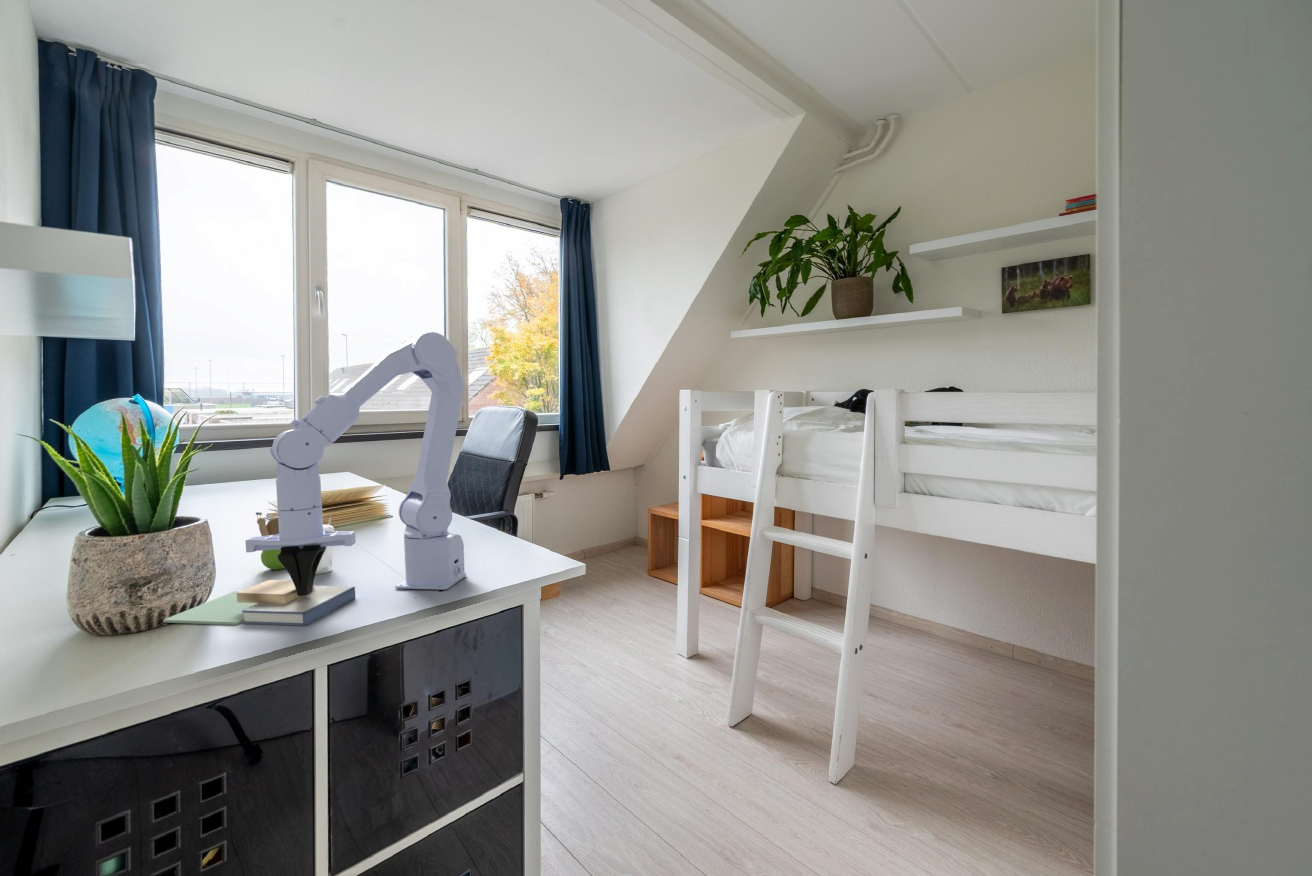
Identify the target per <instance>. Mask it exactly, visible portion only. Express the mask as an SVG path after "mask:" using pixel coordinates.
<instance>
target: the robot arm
mask: <svg viewBox="0 0 1312 876" xmlns="http://www.w3.org/2000/svg"><path fill="white" fill-rule="evenodd" d="M457 356H458V350H457V349H456V348H455V347H454V345H452V344H451V341H449V340H448V339H447V338H446V337H445V336H444V335H442V334H441V333H438V332H434V331H430V332H429V331H428V332H425V333H422V334H421V335H417V336H410V337H407V338H406V339H404V340H402V342H401V343H399V345H396V346H394V347H393V348H391V349H390V350H388V351H387V352H386V353H385V354H383V355H381V357H380V358H379V359H378V360H377V361H375V363H374V364H373V365H371V367H369V368H368V369H367V370H366V371H365V372H364V373H363V374H361V376H360V377H359V378H358V379H356V381H354V383H352V384H351V385H350V386H349V387H348V388H347V389H346V390H345V391H344V392H343V393H335V392H334V393H333V392H331V393H329V394H327V395H326V396H324V395H320V396H318V397H317V398H316V399H315V400H314V402H313V403H315V406H313V407H312V408H311V409H309V410H308V411H307V412H306V413H305V414H304V415H303V416H301V417H300V418H299V419H298V420H297V419H293V420H292V421H291V422H290V423H289V425H290V426H291V427H292V428H293V429H289V430H285V431H283V432H281V433H279V434H277V436H276V437H275V438H274V440H273V441H272V442H273V443H272V445H271V448H270V454H271V456H272V458H273V459H274V460H275V461H276V467H275V474H276V479H275V485H276V503H277V504H276V505H277V516H278V523H279V534H278V535H269V536H262V535H260V536H252V537H249V538H247V539H245V542H244V543H245V552H246V553H254V552H258V551H259V552H260V551H261V552H262V551H263V550H277V549H281V552H280V554H279V555H278V560H279V561H280V562H281V563H282V565H283V566H284V567H285V568H284V569H285V570H286V572H287V574H288V575H289V577H290V578H291V581H293V583H294V586H295V588H296V591H297V595H298V596H304V595H308V594H309V593H311V592H312V589H313V583H314V584H315V578H316V575H317V574H316V571H317V568H318V565H319V563H320V560H321V558H322V556H323V554H324V552H325V550H326V546H333V547H338V546H344V547H352V546H353V545H355V544H356V542H357V541H356V531H355V530H353V531H345V530H343V531H342V530H341V531H338V530H337V531H336V530H334V531H323V525H324V519H323V503H322V502H323V501H322V486H321V485H322V484H321V476H320V471H319V470H320V468H319V467H320V466H319V462H320V461H321V460H322V458H323V457H324V453H325V448H327V447H330V446H331V445H332V444H333V443H334V442H336V441H337V439H339V438H340V437H341V436H342V435H343V434H344V433H345V432H346V431H347V430H348V429H350V428H351V427H352V426H353V425H354V424H355V423H356V422H358V420H359V419H360V410H361V409H360V407H361V406H362V405H364V404H365V403H366V402H368V401H369V400H370V399H372V397H373V396H374V395H376V394H377V393H378V392H380V391H381V390H382V389H383V388H384V387H386V386H387V385H388V384H389V383H391V381H393V380H394V379H395V378H396V377H398V376H401V375H405V374H409V373H412V374H414V375H416V376H417V377H419V378H420V379H421V380H422V382H424V384H425V385H426V387H428V389H429V390H430V391H431V396H430V401H429V406H428V410H427V416H426V421H425V422H426V423H425V428H424V433H423V437H422V442H421V447H420V453H419V457H418V463H417V469H416V474H415V478H414V479H413V480H412V482H411V483H410V485H409V486H408V491H407V494H406V496H405V497H404V499H403V500H402V501H401V502H400V505H399V508H398V516H399V519H400V520H401V522H402V524H404V525H405V529H404V532H403V544H404V546H403V547H404V549H403V550H404V568H405V571H404V572H405V579H404V580H402V581H401V582H399V583H397V584H396V585H395V586H394V587H395V589H402V590H405V589H406V590H407V589H408V590H409V589H410V590H411V589H412V590H443V591H444V590H448V589H450V588H451V587H453V585H455V584H457V582H459V581H461V580H462V579H463V578H465V577H466V576H467V572H466V571H465V553H464V552H465V550H464V540H463V537H462V536H461V535H460V534H457V533H451V532H449V531H448V530H449V529H448V528H449V526H450V525H451V523H452V519H453V511H452V508H451V497H452V495H451V491H450V488H449V485H448V477H449V471H450V465H451V461H452V455H453V450H454V444H455V439H456V435H457V434H456V433H457V429H458V423H459V417H460V413H461V407H462V403H463V398H464V397H463V396H464V393H465V392H464V391H465V383H464V379H463V375H462V373H461V370H460V367H459V364H458V359H457V358H458V357H457Z"/></svg>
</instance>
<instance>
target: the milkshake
mask: <svg viewBox="0 0 1312 876" xmlns="http://www.w3.org/2000/svg"><path fill="white" fill-rule="evenodd" d="M332 517H333V516H329V517H328V521H327V522H328V523H327V524H323V531H335V528H334V526H333V525H331V523H332ZM333 549H334V546H326V550H325V552H324V554H323V556H322V558H321V560H320V563H319V565H318V568H317V571H316V574H315V575H323V574H326V573H330V572H332V571H333Z"/></svg>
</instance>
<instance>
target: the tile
mask: <svg viewBox="0 0 1312 876" xmlns="http://www.w3.org/2000/svg"><path fill="white" fill-rule="evenodd" d="M314 586H315V582H314V583H313V589H312V591H314ZM237 592H238V593H237V602H239V603H270V604H286V603H288V602H290V601H293V600H295V599H297V598H299V597H301V596H298V595H297V591H296V588H295V586H294V583H293V581H292V580H285V579H282V580H281V579H280V580H279V579H268V580H265V581H262V582H259V583H257V584H256V585H253V586H250V587H247V588H246V589H243V590H241V591H237Z"/></svg>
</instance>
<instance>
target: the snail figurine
mask: <svg viewBox="0 0 1312 876" xmlns="http://www.w3.org/2000/svg"><path fill="white" fill-rule="evenodd" d="M255 515H256V517H257V520H256V523H257V525H258V529H259V532H260V536H269V535H278V534H279V523H278V515H277V516H274V517H272V518H271V519H270V520H269V521H268V522H267V524H266V521H267V520H266V518H265V517H261V515H263V512H261V511H257V512H255ZM258 516H259V518H258ZM280 552H281V549H277V550H261V554H260V560H261V563H262V564H263V566H264V567H265V568H267V569H269V570H274V571H277V570H282V569H285V567H284V566H283V565H282V563H281V562H280V561H279V560H278V555H279V554H280Z"/></svg>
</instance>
